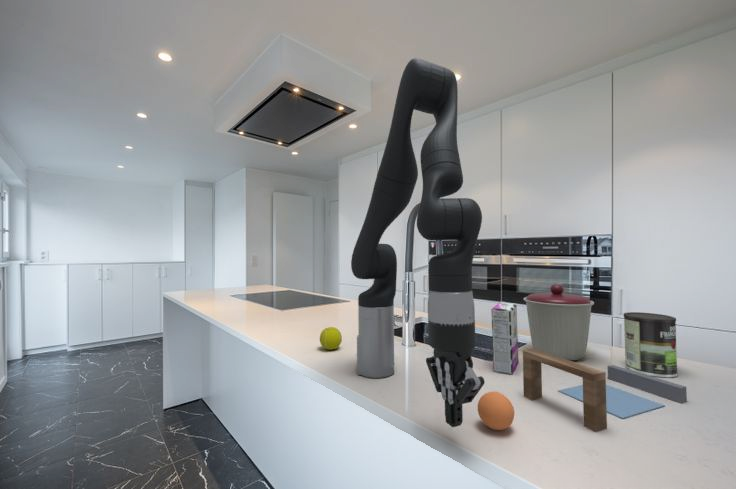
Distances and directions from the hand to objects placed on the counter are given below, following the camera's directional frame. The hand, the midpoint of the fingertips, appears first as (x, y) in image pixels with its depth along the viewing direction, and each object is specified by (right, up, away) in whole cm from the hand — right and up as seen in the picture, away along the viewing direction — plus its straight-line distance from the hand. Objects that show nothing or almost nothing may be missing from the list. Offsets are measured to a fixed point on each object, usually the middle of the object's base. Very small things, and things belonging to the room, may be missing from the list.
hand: (453, 424), depth 53 cm
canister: (+42, -4, +43) cm, 60 cm away
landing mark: (+36, -3, +15) cm, 39 cm away
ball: (+8, 0, +4) cm, 9 cm away
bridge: (+23, -3, +9) cm, 25 cm away
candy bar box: (+23, -4, +34) cm, 41 cm away
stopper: (+47, -3, +19) cm, 51 cm away
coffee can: (+59, -3, +30) cm, 66 cm away
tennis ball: (-26, -5, +51) cm, 58 cm away
